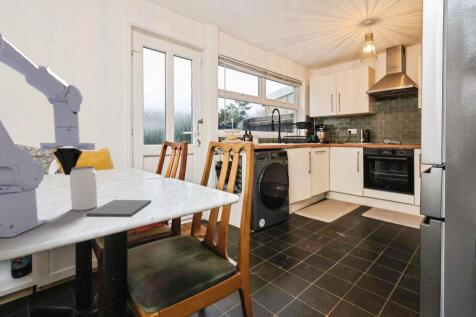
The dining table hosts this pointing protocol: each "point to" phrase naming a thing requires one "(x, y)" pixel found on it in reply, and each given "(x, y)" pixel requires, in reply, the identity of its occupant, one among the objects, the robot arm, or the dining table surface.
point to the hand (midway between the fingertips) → (69, 174)
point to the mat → (119, 208)
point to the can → (83, 188)
